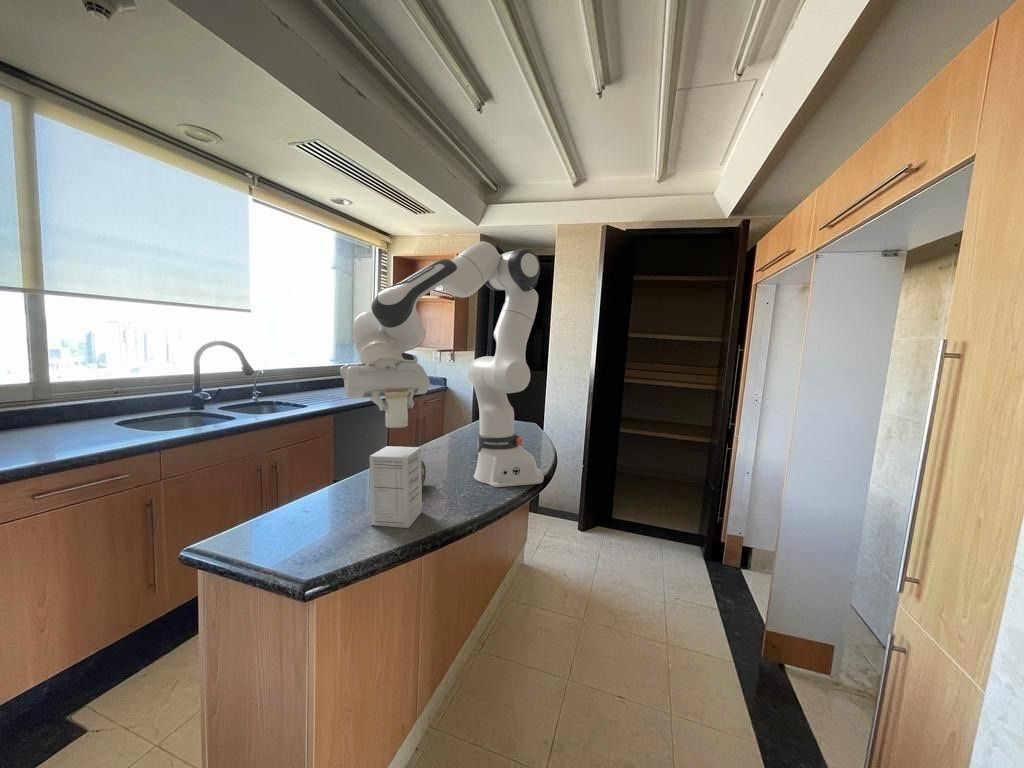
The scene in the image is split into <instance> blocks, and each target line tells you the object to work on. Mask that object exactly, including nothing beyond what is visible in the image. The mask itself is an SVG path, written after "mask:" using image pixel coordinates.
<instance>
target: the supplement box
mask: <svg viewBox="0 0 1024 768" xmlns="http://www.w3.org/2000/svg"><path fill="white" fill-rule="evenodd" d="M421 460H422V447H421V446H420V447H418V446H396V445H395V446H390V445H389V446H388V445H387V446H384V447H383V448H381V449H380V450H378V451H376V452H374V453H372V454H370V455H369V491H370V522H371V524H370V525H371V526H372V525H374V526H373V527H375V526H376V527H387V526H388V527H390V528H406V529H409V528H410V526H412V525H413V523H414V522H415V521H416V519H418V517H419V516H420V515H421V513H423V499H422V498H423V491H422V490H423V489H422V487H423V486H422V479H421Z"/></svg>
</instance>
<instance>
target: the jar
mask: <svg viewBox="0 0 1024 768" xmlns="http://www.w3.org/2000/svg"><path fill="white" fill-rule="evenodd" d="M384 396H385V398H384V399H385V400H386V401H387V404H388V408H387V410H385V427H386V428H390V429H397V428H399V429H400V428H406V427H407V426H408V425H409V424H408V423H409V422H408V420H409V418H408V416H409V414H408V410H409V408H408V400H407V399H408V398H407V396H408V392H407V391H387V392H384Z"/></svg>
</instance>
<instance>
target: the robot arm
mask: <svg viewBox="0 0 1024 768" xmlns="http://www.w3.org/2000/svg"><path fill="white" fill-rule="evenodd" d="M540 271H541V264H540V259H539V257H538V256H537V253H535V251H533V250H531V249H528V248H517V249H514V250H509V251H507V252H506V251H505V252H504V253H502V254H500V253H499V252H498V250H497V249H496V247H495V246H494V245H493V244H492V243H490V242H488V241H483V240H482V241H478V242H476V243H474V244H472V245H471V246H468V247H467V248H465V249H464V250H463V251H461V252H459V254H457V255H456V256H455V257H453V258H452V259H448V258H441V259H438V260H436V261H434V262H432V263H429V264H428V265H426V266H424V267H423V268H421V269H420V270H417V271H416V272H415V273H413V274H412V275H409V276H408V277H406V278H405V279H403V280H401V281H399V282H398V283H395V284H392V285H389V286H387V287H384V288H383V289H381V290H379V291H378V292H377V294H375V296H374V298H373V299H372V302H371V308H370V309H371V311H364V312H362V313H360V314H359V315H357V316H356V318H355V319H354V321H353V323H352V327H351V330H352V338H353V341H354V345H355V347H356V350H357V352H358V353H359V359H360V363H355V364H350V363H349V364H348V363H347V364H344V365H343V366H341V367H340V368H339V373H340V376H341V379H343V383H344V392H345V395H346V397H348V398H349V400H350V399H351V400H354V399H355V400H356V399H370V400H371V401H372V402H373V403H374V404H375V405H376V406H378V409H379V411H386V410H387V408H388V404H387V401H386V400H383V399H382V398H384V397H385V396H384V392H387V391H407V392H408V396H407V400H408V409H413V408H414V405H415V402H414V400H413V398H414V396H415V395H425V394H427V392H428V390H429V388H430V386H431V381H430V379H429V376H428V374H427V372H426V371H425V369H424V367H423V366H422V365H420V364H419V363H418V361H419V359H418V356H417V355H415V354H411V353H407V352H408V351H412V350H414V349H416V348H418V347H419V346H420V345H422V343H423V342H424V340H425V338H426V330H425V327H424V325H423V323H422V322H423V321H422V320H421V317H420V315H419V313H418V310H417V303H418V301H419V300H420V299H421V298H423V297H424V296H425V295H427V294H428V293H430V292H432V291H433V290H435V289H436V288H438V287H440V286H441V287H442V288H443V289H444V290H445V291H446V292H447V293H449V294H451V295H452V296H455V298H456V297H457V298H461V299H462V298H463V299H464V298H469V297H471V296H473V295H474V294H475V293H477V291H479V289H481V288H482V287H483V286H484V285H485V286H486V287H487V288H489V289H490V290H492V291H499V292H500V291H501V292H502V291H504V292H505V298H504V299H505V300H504V303H503V306H502V309H501V311H500V314H499V317H498V319H497V321H496V325H495V328H494V330H493V339H494V340H495V343H496V344H495V346H496V347H495V353H494V356H491V355H490V356H489V355H486V356H481V357H480V356H479V357H477V358H476V359H474V360H472V361H471V362H470V364H469V365H468V369H467V376H468V379H469V381H470V382H471V384H472V385H473V388H474V392H475V395H476V399H477V400H476V401H477V404H478V405H477V406H478V411H479V412H478V413H479V414H478V415H479V433H478V435H477V450H478V454H477V455H478V456H477V463H476V468H475V472H474V474H473V478H474V479H475V480H476V481H477V482H480V483H483V484H487V485H490V486H492V487H494V488H502V487H503V488H504V487H514V486H516V487H517V486H527V485H537V484H542V483H543V482H544V479H545V477H544V474H543V472H542V470H540V469H539V468H538V467H537V462H536V459H535V457H534V456H533V454H531V453H530V452H528V451H527V450H526V449H525V448H524V447H522V446H521V445H522V444H523V442H524V441H523V438H522V437H520V436H519V435H518V434H517V433H515V411H514V407H513V406H512V405H511V403H510V401H509V398H508V395H507V394H514V393H520V392H522V391H525V389H526V388H527V387H528V386H529V383H530V381H531V370H530V367H529V365H528V364H527V359H526V351H527V343H528V340H529V337H530V334H531V331H532V327H533V325H534V322H535V319H536V314H537V310H538V304H539V294H538V292H537V291H536V289H535V288H536V286H537V285H538V284H539V283H538V282H539V277H540Z"/></svg>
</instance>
